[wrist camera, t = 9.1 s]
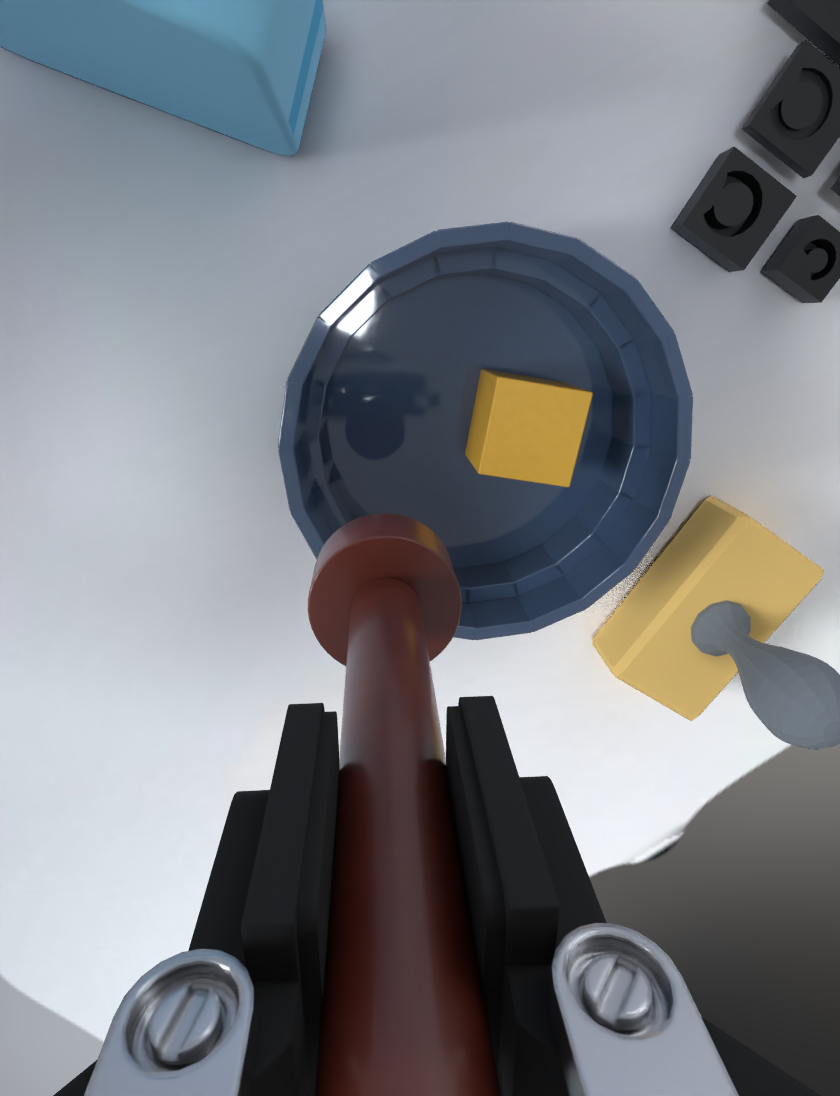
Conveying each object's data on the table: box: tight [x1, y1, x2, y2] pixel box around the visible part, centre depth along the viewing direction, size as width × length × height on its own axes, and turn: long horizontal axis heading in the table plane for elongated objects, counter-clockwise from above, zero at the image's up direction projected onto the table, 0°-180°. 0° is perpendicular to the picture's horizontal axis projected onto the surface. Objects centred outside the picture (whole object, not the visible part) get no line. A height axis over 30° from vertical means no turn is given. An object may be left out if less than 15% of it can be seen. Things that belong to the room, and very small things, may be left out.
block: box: [465, 369, 593, 487], centre depth 28 cm, size 4×4×4 cm
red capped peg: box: [308, 513, 501, 1096], centre depth 12 cm, size 4×4×14 cm
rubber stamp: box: [593, 496, 840, 750], centre depth 29 cm, size 10×6×12 cm, turn 147°
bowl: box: [278, 222, 693, 640], centre depth 28 cm, size 16×16×6 cm
